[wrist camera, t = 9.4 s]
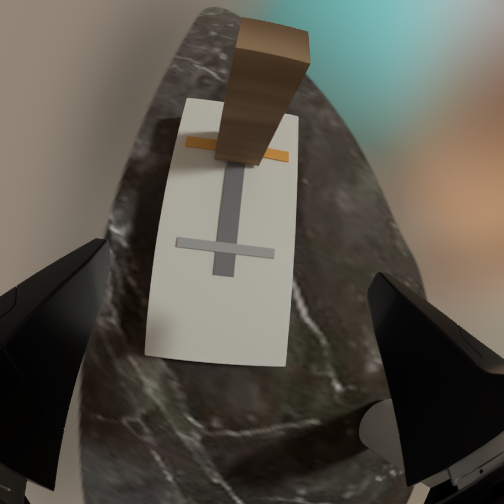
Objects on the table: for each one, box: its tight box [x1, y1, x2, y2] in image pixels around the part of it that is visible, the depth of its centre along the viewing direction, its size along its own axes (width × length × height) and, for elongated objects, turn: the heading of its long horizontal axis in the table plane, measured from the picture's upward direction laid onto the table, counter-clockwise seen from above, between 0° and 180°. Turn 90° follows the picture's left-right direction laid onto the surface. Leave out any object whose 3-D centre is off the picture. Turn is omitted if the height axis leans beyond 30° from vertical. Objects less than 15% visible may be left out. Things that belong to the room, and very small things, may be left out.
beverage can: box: [359, 399, 450, 488], centre depth 14 cm, size 5×5×12 cm
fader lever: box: [214, 17, 310, 166], centre depth 14 cm, size 2×3×10 cm
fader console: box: [145, 98, 298, 366], centre depth 19 cm, size 18×9×3 cm, turn 175°
